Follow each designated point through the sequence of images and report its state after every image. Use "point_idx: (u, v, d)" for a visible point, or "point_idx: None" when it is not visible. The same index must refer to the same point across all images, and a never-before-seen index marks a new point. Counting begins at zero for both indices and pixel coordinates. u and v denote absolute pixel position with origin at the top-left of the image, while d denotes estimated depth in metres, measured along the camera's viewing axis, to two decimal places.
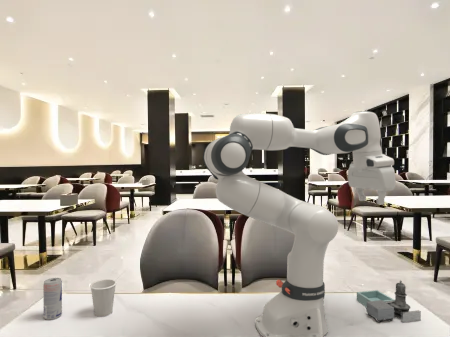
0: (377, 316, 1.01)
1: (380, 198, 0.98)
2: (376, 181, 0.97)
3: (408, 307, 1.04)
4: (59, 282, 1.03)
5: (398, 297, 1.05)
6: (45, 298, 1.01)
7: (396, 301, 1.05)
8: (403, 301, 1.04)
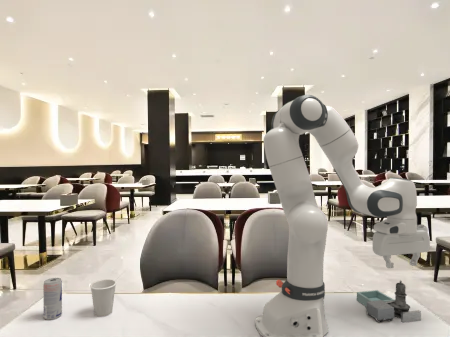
0: (377, 316, 1.01)
1: (386, 261, 1.05)
2: None
3: (408, 307, 1.04)
4: (59, 282, 1.03)
5: (398, 297, 1.05)
6: (45, 298, 1.01)
7: (396, 301, 1.05)
8: (403, 301, 1.04)
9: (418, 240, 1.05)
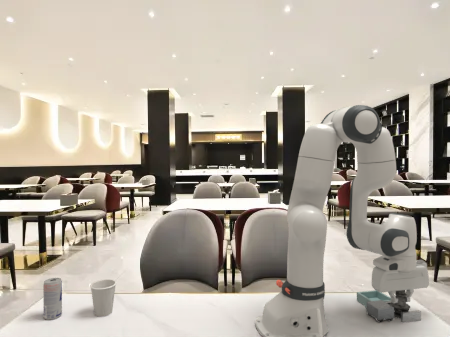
0: (377, 316, 1.01)
1: (390, 296, 1.05)
2: None
3: (408, 307, 1.04)
4: (59, 282, 1.03)
5: (398, 297, 1.05)
6: (45, 298, 1.01)
7: None
8: (403, 301, 1.04)
9: (417, 275, 1.05)
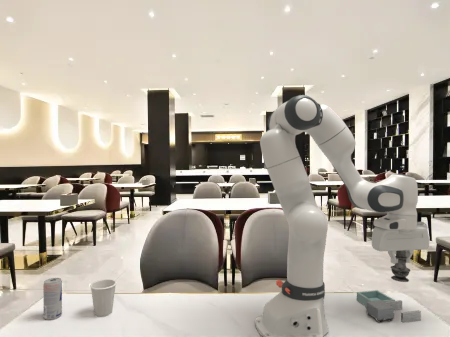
0: (377, 316, 1.01)
1: None
2: None
3: (408, 270, 1.03)
4: (59, 282, 1.03)
5: (398, 260, 1.04)
6: (45, 298, 1.01)
7: (396, 264, 1.05)
8: (403, 264, 1.04)
9: (418, 237, 1.05)
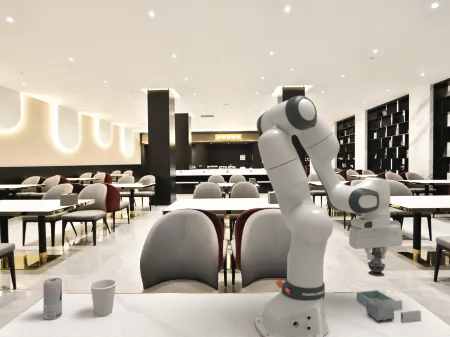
0: (377, 316, 1.01)
1: (367, 253, 1.13)
2: None
3: (383, 265, 1.11)
4: (59, 282, 1.03)
5: (374, 256, 1.12)
6: (45, 298, 1.01)
7: (372, 260, 1.13)
8: (378, 260, 1.12)
9: (391, 234, 1.13)
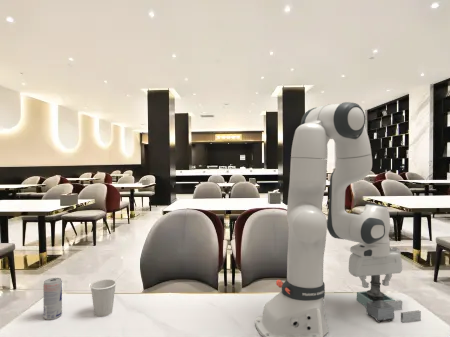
0: (377, 316, 1.01)
1: (362, 281, 1.13)
2: None
3: (382, 295, 1.11)
4: (59, 282, 1.03)
5: (373, 286, 1.13)
6: (45, 298, 1.01)
7: (371, 289, 1.13)
8: (377, 289, 1.12)
9: (391, 262, 1.13)
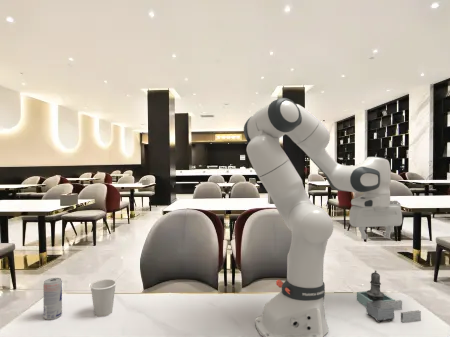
0: (377, 316, 1.01)
1: (361, 233, 1.14)
2: None
3: (382, 295, 1.11)
4: (59, 282, 1.03)
5: (373, 286, 1.13)
6: (45, 298, 1.01)
7: (371, 289, 1.13)
8: (377, 289, 1.12)
9: (391, 214, 1.15)
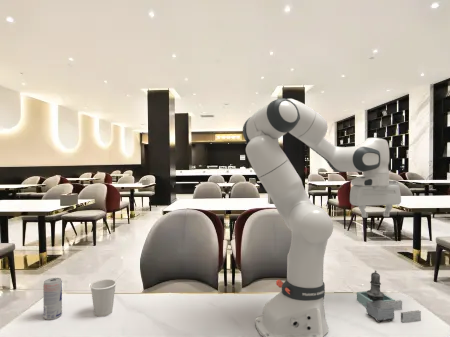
0: (377, 316, 1.01)
1: (361, 211, 1.18)
2: None
3: (382, 295, 1.11)
4: (59, 282, 1.03)
5: (373, 286, 1.13)
6: (45, 298, 1.01)
7: (371, 289, 1.13)
8: (377, 289, 1.12)
9: (390, 193, 1.18)
